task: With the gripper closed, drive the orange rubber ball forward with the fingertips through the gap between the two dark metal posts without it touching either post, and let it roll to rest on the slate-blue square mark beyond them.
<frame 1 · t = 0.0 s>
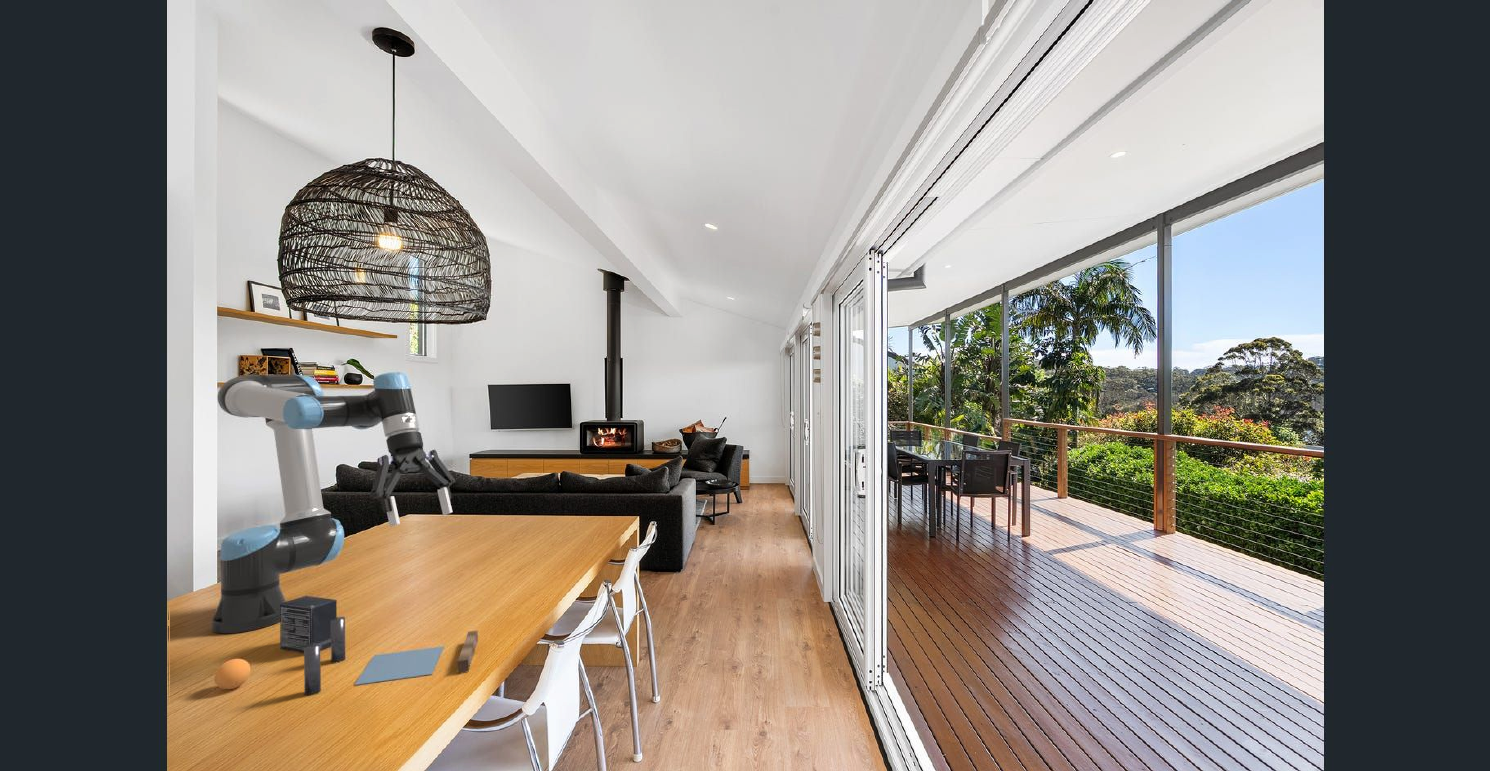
hand: (422, 519, 145), 28 cm above the table, tool tilted 20°, fingers open, 13 cm apart
post 2: (338, 660, 132), on the table
small box: (309, 647, 140), on the table
post 1: (312, 692, 118), on the table
ball: (232, 673, 121), on the table
stopper wall: (468, 656, 133), on the table
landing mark: (402, 665, 130), on the table
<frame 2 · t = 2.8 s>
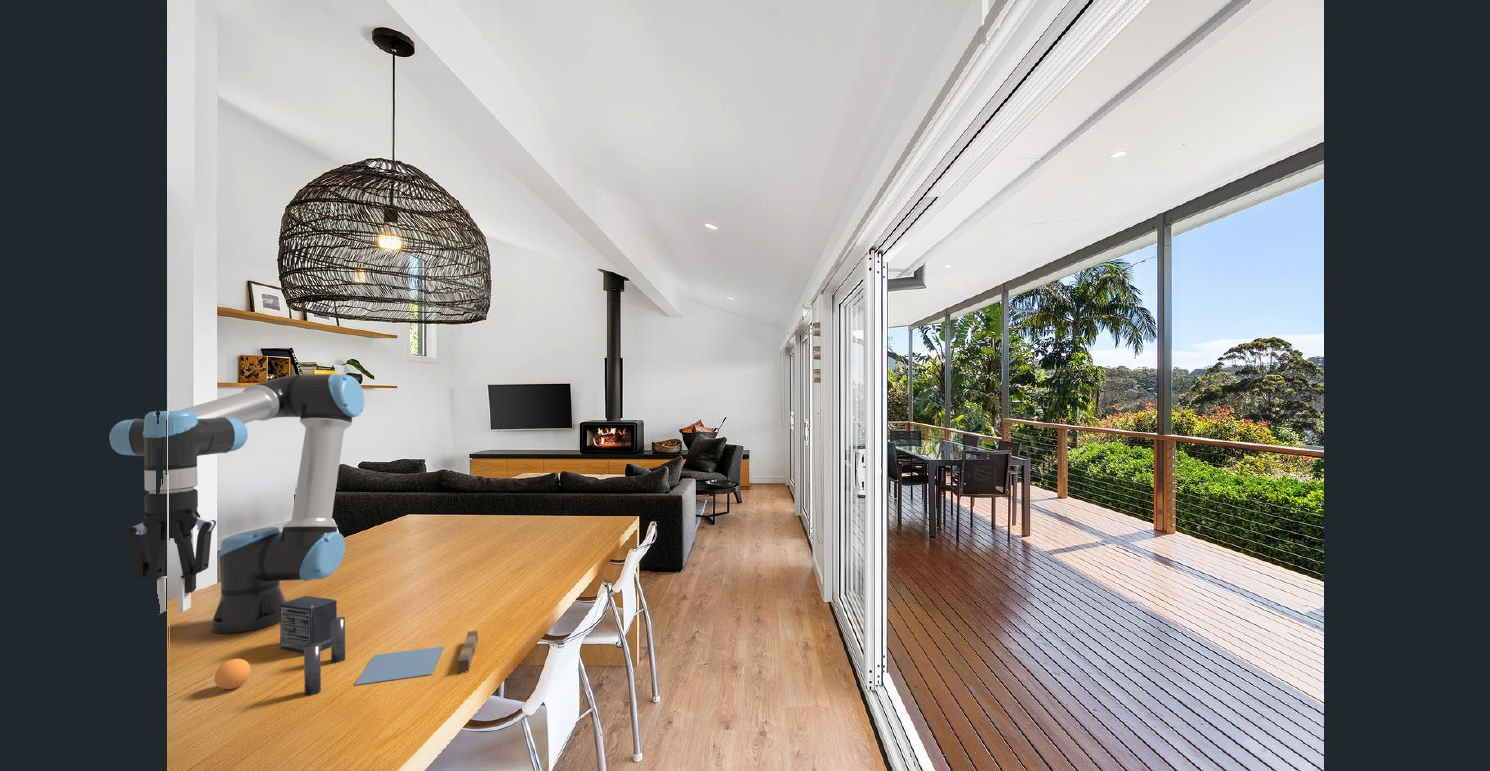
hand: (173, 610, 118), 17 cm above the table, tool pointing down, fingers open, 3 cm apart
nothing on the table moved.
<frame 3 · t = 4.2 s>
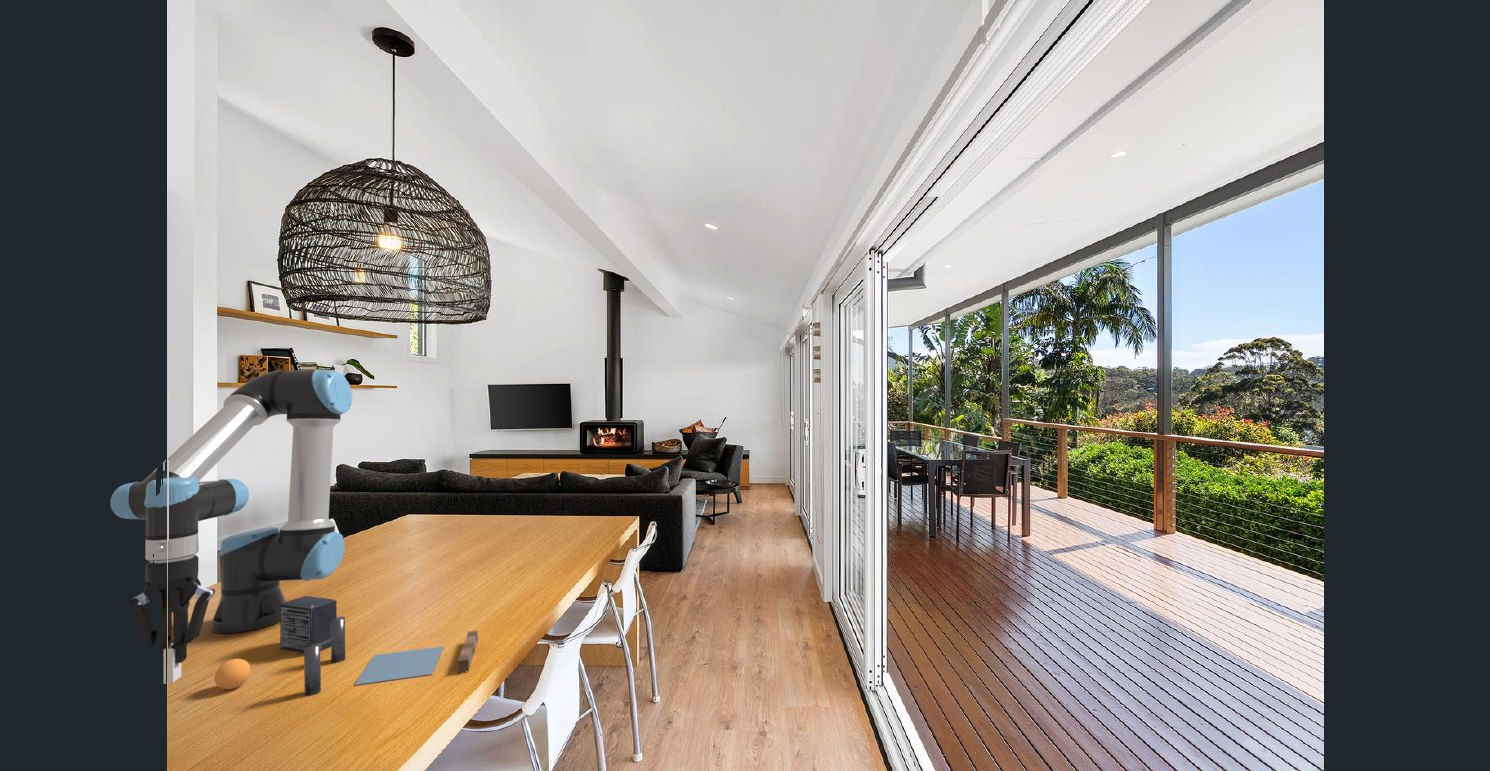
hand: (172, 679, 117), 3 cm above the table, tool pointing down, fingers closed
nothing on the table moved.
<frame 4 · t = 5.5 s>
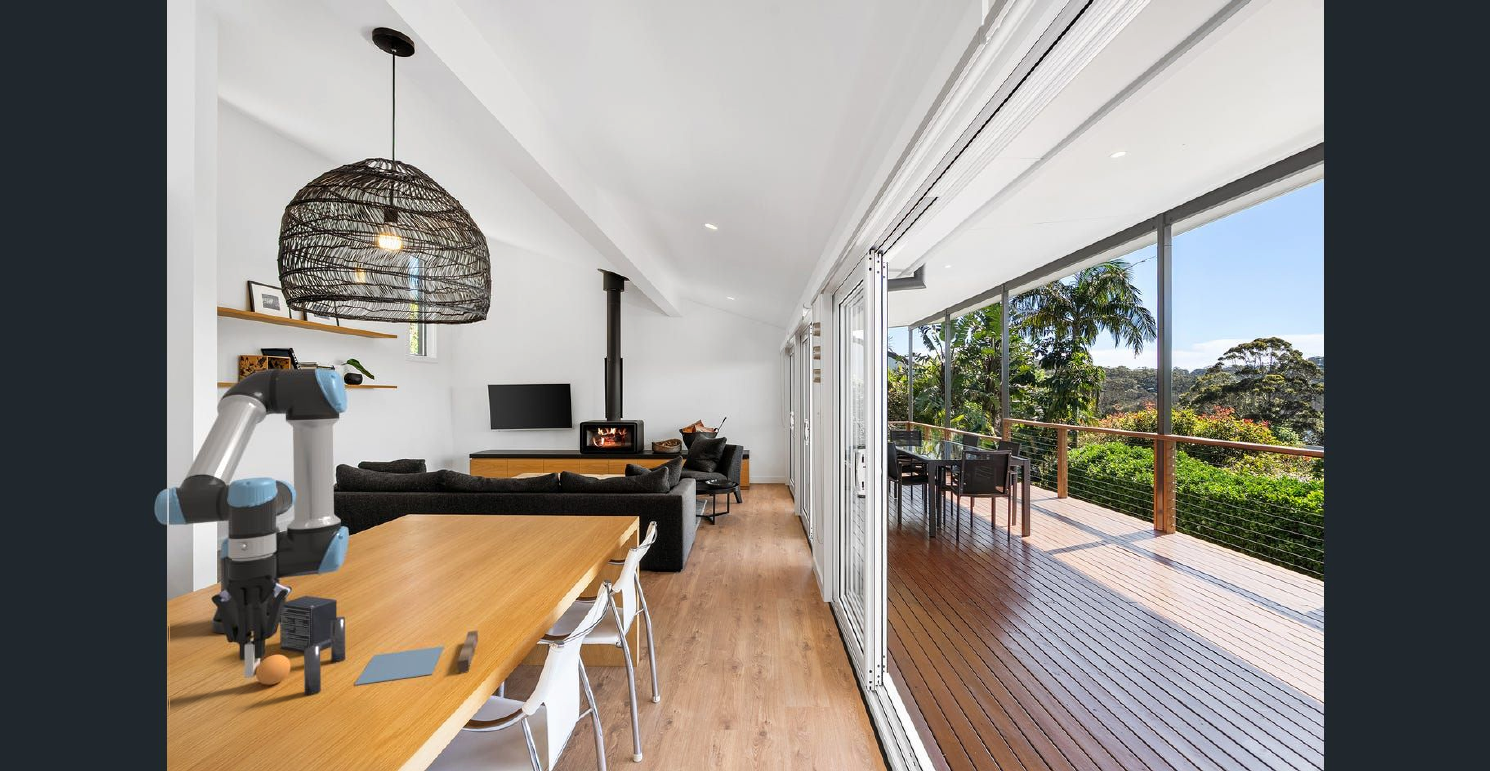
hand: (252, 674, 121), 2 cm above the table, tool pointing down, fingers closed
ball: (273, 669, 122), on the table, touching gripper
everything else where it was.
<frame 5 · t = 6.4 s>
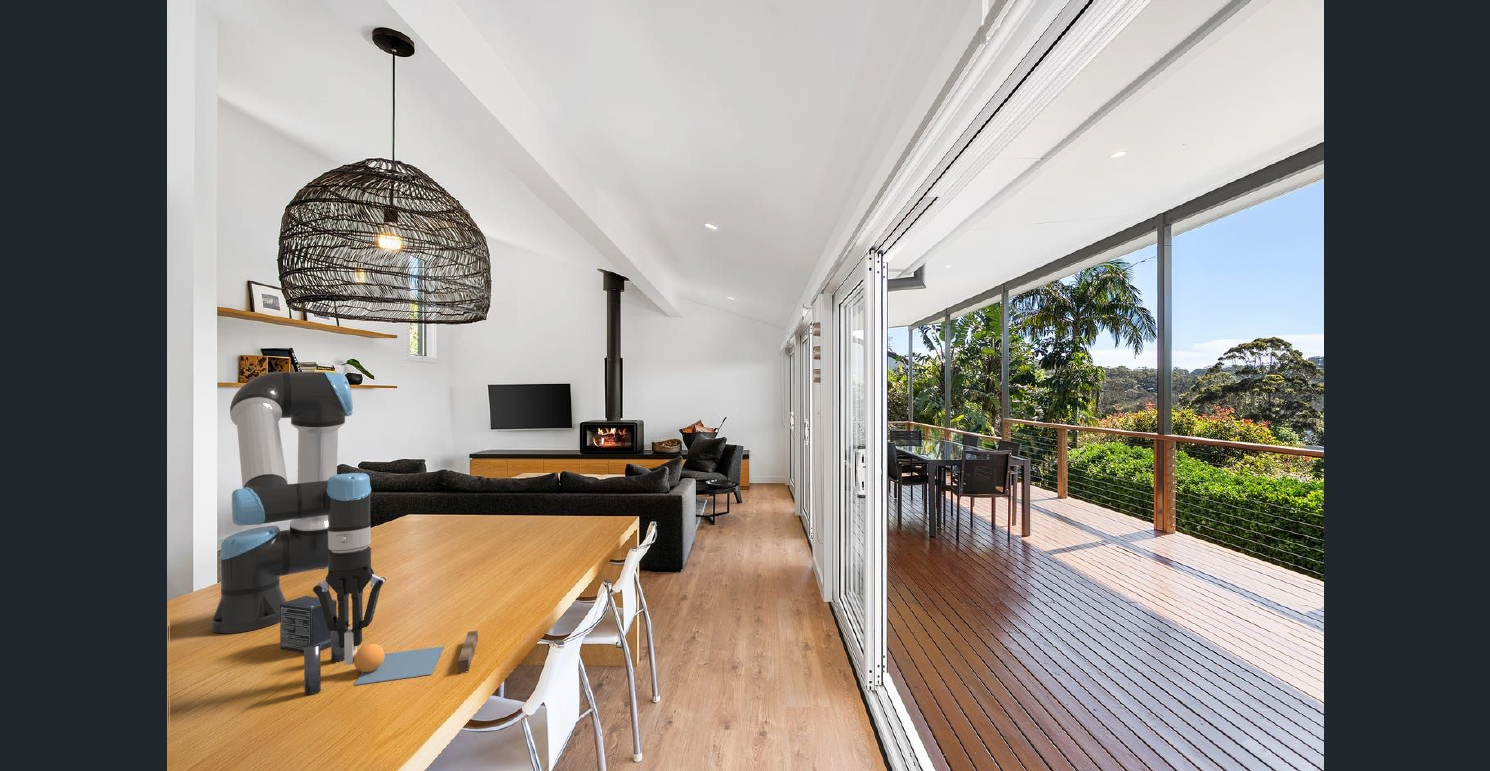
hand: (350, 661, 126), 2 cm above the table, tool pointing down, fingers closed
ball: (369, 657, 127), on the table
everything else where it was.
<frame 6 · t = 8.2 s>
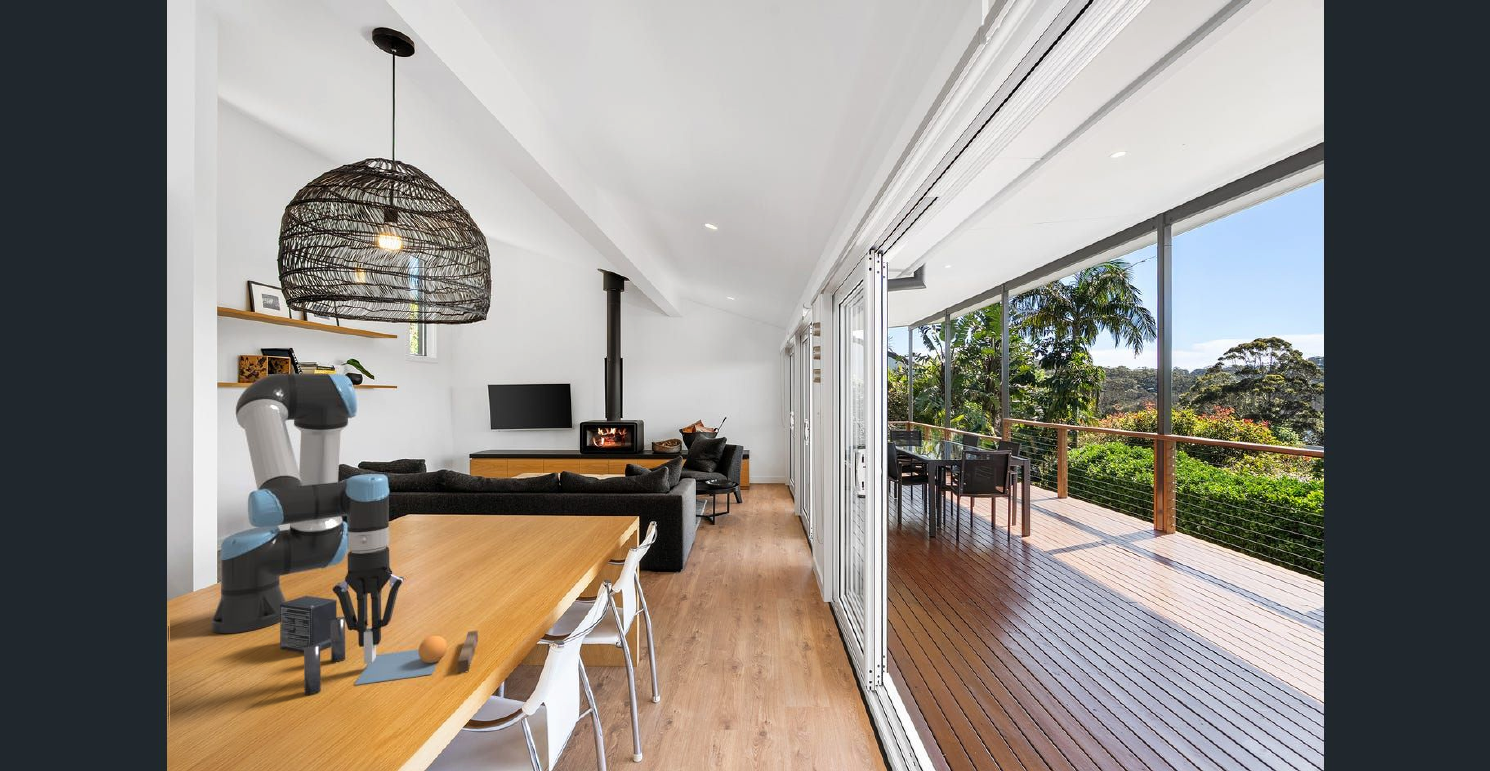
hand: (370, 660, 128), 2 cm above the table, tool pointing down, fingers closed
ball: (432, 649, 131), on the table
everything else where it was.
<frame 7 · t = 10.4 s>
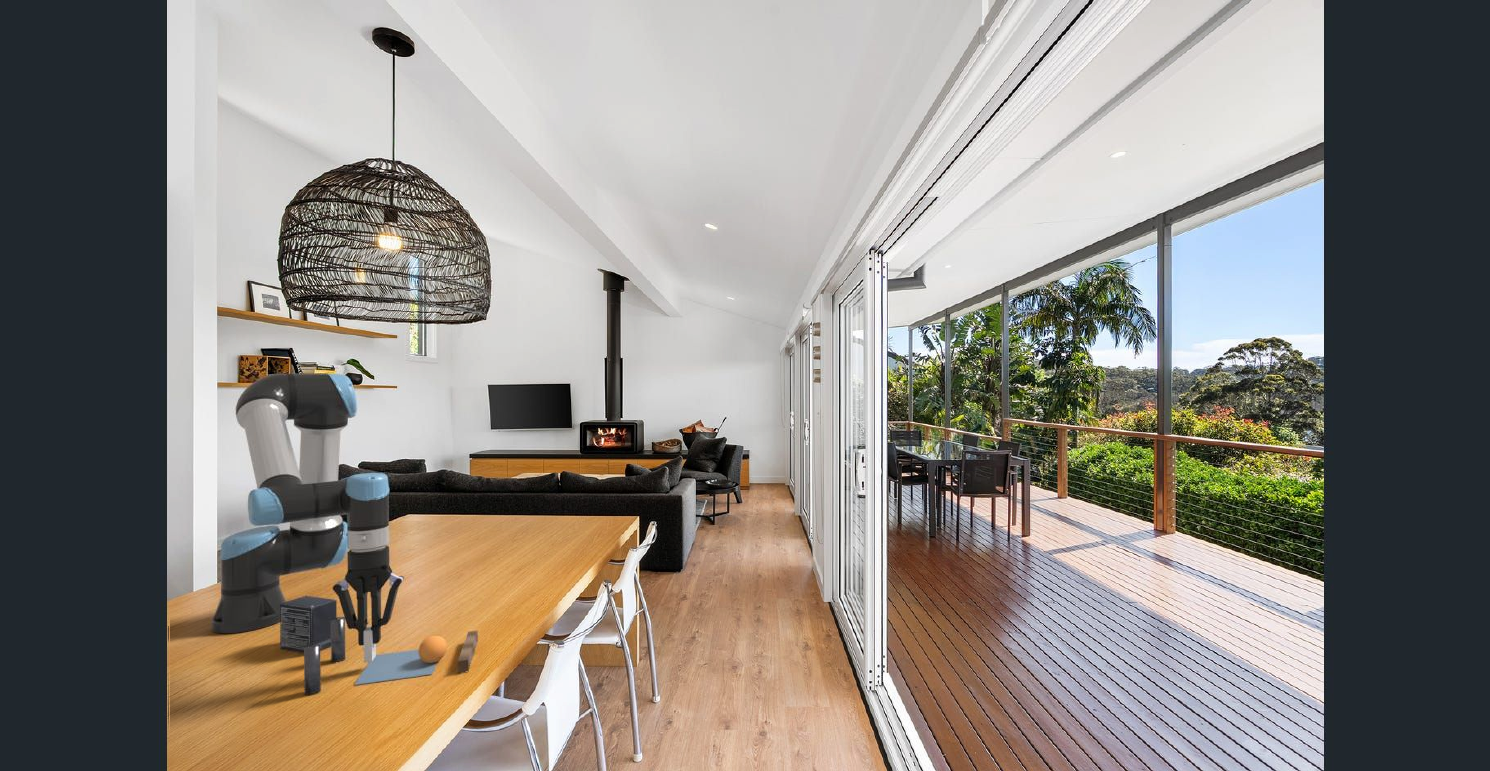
hand: (369, 658, 128), 2 cm above the table, tool pointing down, fingers closed
nothing on the table moved.
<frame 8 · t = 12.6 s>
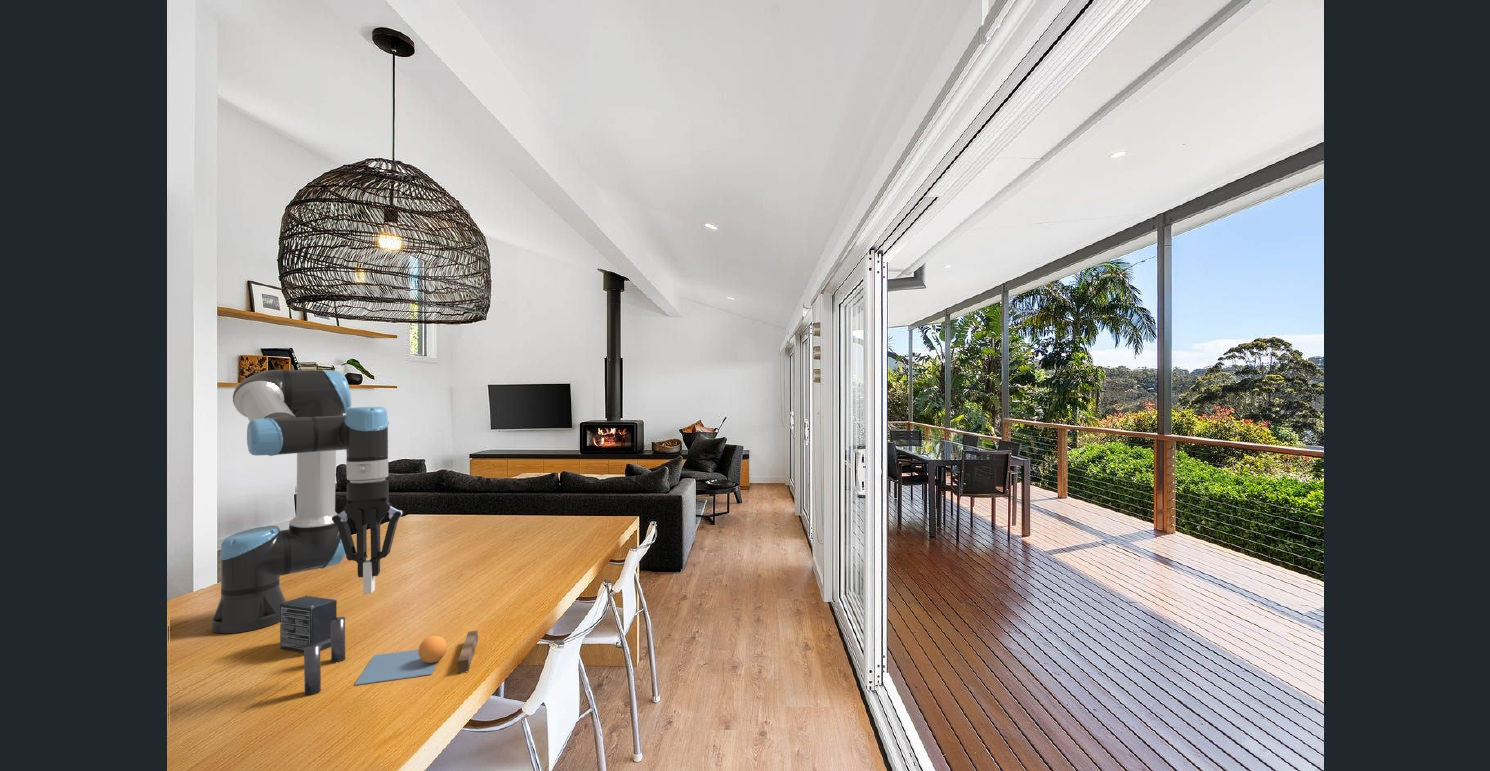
hand: (369, 591, 128), 16 cm above the table, tool pointing down, fingers closed
nothing on the table moved.
at the end: ball 6.1 cm from the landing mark (horizontally); ball never touched post 2; ball never touched post 1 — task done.
